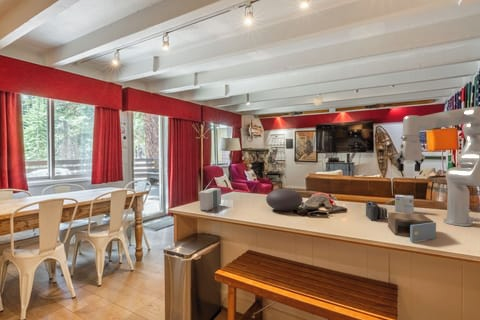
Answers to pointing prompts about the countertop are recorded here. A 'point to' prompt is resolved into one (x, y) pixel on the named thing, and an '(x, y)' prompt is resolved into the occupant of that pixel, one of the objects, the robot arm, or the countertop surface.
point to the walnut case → (405, 222)
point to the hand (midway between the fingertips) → (409, 171)
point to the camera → (375, 211)
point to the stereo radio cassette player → (210, 198)
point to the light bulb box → (404, 203)
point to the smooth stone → (284, 199)
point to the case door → (422, 231)
